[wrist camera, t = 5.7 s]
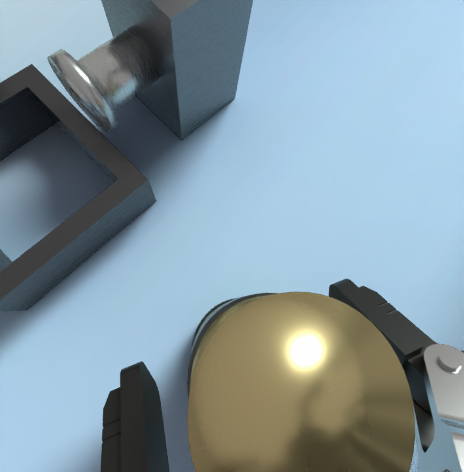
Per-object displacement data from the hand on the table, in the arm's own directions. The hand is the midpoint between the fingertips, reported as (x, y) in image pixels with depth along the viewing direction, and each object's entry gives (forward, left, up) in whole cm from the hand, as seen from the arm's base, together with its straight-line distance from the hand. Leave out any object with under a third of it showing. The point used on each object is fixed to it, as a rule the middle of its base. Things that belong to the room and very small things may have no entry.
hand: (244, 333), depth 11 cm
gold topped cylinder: (+1, +1, -5) cm, 5 cm away
